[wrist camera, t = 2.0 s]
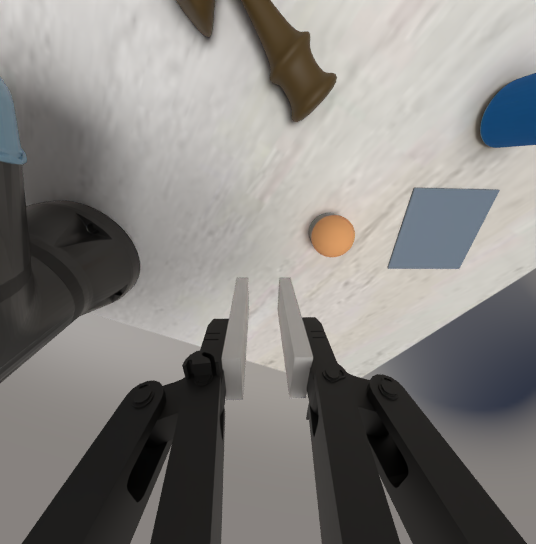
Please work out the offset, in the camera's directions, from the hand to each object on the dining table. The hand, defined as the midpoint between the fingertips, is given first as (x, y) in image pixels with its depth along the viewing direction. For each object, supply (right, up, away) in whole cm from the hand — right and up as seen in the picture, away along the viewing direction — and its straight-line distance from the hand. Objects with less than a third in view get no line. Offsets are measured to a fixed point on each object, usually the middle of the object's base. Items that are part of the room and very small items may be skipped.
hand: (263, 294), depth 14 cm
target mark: (+26, +8, +16) cm, 31 cm away
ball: (+9, +6, +13) cm, 17 cm away
